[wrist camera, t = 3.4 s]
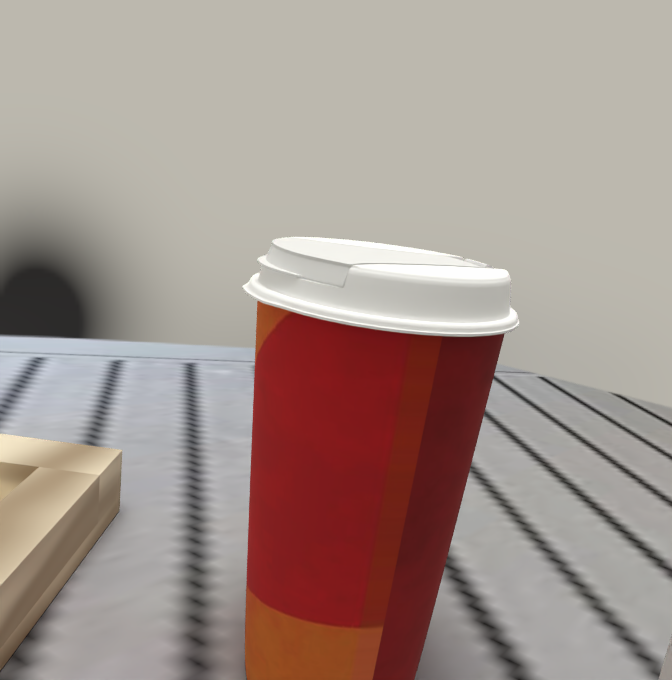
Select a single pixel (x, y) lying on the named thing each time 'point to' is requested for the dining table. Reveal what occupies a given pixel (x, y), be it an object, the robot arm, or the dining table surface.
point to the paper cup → (361, 448)
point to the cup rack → (48, 523)
